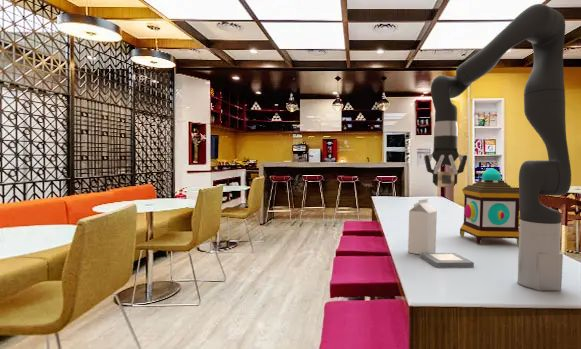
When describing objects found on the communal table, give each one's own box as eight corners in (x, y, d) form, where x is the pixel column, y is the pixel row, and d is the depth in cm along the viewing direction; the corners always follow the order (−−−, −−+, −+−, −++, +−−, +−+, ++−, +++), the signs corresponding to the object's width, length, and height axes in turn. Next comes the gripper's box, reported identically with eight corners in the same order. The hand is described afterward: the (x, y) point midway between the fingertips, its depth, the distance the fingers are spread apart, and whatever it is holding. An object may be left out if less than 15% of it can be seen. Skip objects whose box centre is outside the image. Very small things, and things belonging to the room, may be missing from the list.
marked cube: (450, 186, 132) (451, 172, 132) (454, 187, 127) (454, 172, 127) (435, 186, 133) (435, 171, 133) (438, 186, 128) (438, 171, 127)
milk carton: (435, 252, 136) (437, 199, 135) (427, 256, 130) (428, 201, 130) (416, 249, 140) (417, 198, 140) (407, 252, 135) (409, 199, 134)
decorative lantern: (475, 245, 148) (478, 168, 147) (455, 235, 168) (457, 167, 167) (527, 246, 147) (530, 169, 146) (501, 236, 167) (503, 167, 166)
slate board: (473, 267, 118) (474, 262, 118) (436, 267, 117) (436, 262, 117) (454, 257, 130) (454, 252, 130) (420, 257, 129) (420, 252, 129)
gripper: (465, 136, 132) (464, 185, 132) (421, 136, 134) (420, 184, 135) (471, 134, 124) (470, 186, 125) (425, 134, 127) (424, 185, 127)
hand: (444, 185), depth 130 cm, fingers closed on marked cube, 5 cm apart
